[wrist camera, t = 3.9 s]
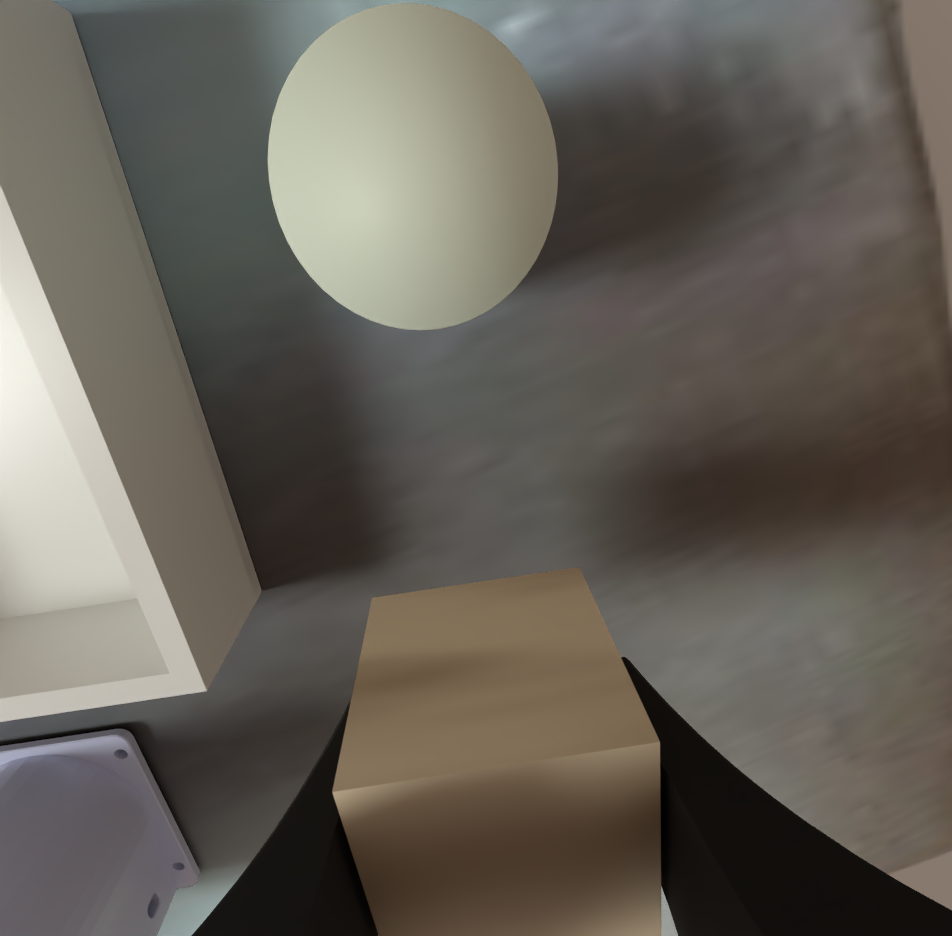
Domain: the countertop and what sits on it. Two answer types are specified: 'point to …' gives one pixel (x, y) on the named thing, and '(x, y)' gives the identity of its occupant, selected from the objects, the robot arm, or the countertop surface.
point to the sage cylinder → (412, 166)
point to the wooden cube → (500, 766)
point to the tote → (96, 417)
